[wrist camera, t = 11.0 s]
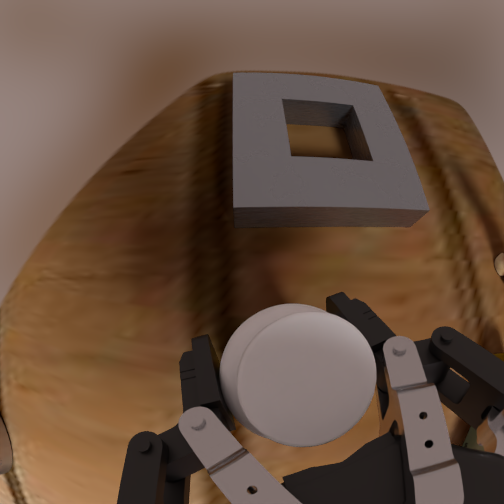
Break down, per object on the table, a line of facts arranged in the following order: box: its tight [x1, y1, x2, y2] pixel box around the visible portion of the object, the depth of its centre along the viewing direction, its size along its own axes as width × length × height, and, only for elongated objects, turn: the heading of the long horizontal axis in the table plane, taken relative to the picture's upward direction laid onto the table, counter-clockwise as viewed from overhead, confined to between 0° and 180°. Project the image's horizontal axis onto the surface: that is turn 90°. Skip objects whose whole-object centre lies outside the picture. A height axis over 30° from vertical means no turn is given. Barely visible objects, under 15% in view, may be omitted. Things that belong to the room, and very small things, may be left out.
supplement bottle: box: [220, 304, 376, 447], centre depth 11 cm, size 5×5×10 cm
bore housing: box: [233, 73, 429, 228], centre depth 21 cm, size 14×14×3 cm
